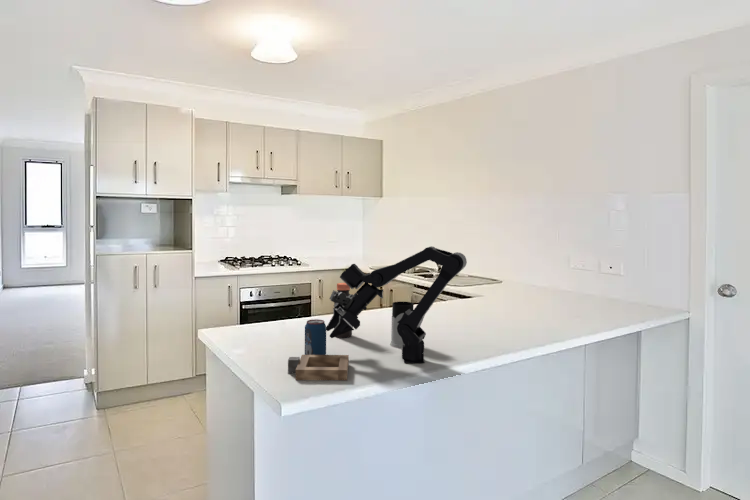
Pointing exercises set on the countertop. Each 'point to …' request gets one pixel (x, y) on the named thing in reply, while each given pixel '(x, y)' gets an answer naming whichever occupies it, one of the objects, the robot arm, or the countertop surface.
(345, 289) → the bottle
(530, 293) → the countertop surface
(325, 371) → the wooden square frame
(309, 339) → the soda can
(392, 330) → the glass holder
